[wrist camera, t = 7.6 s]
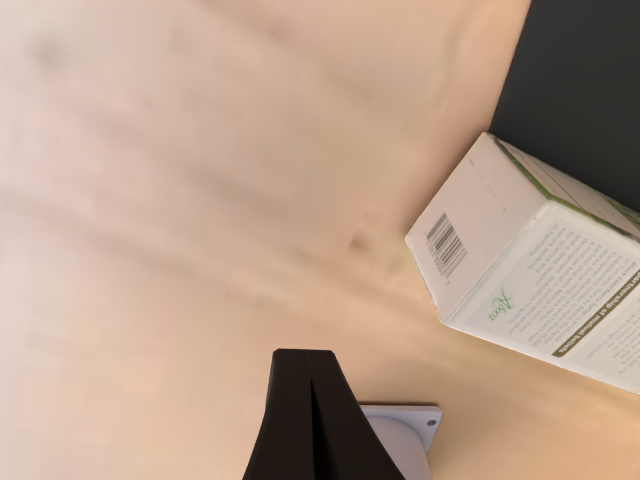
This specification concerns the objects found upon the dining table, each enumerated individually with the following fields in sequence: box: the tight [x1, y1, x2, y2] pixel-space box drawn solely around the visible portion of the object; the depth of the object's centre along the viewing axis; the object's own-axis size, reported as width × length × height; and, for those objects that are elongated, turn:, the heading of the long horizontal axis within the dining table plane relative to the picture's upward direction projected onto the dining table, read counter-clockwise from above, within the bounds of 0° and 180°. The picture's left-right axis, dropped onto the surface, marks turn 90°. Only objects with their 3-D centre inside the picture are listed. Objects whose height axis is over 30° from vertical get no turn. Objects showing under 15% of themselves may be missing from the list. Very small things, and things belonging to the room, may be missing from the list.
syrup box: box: [405, 131, 640, 396], centre depth 22 cm, size 6×6×14 cm
